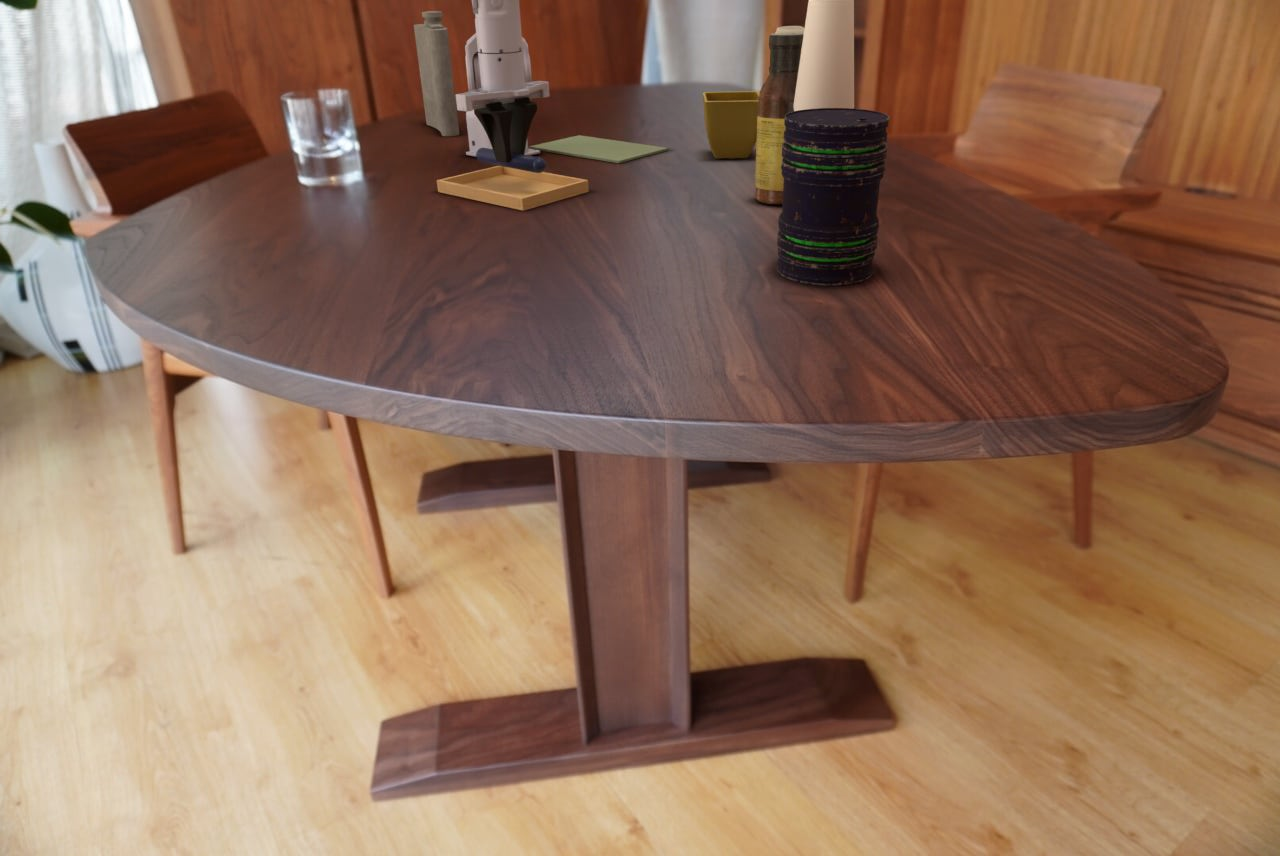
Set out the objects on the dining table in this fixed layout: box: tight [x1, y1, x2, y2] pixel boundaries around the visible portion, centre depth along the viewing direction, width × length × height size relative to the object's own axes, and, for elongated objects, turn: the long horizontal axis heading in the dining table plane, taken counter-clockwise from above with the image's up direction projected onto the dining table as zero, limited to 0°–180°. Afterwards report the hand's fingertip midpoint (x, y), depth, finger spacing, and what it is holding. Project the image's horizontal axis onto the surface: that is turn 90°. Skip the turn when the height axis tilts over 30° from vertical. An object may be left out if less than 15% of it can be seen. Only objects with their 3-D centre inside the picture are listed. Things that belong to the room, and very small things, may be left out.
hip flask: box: [413, 10, 460, 137], centre depth 164 cm, size 16×4×20 cm, turn 24°
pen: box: [475, 148, 547, 173], centre depth 122 cm, size 13×2×2 cm, turn 50°
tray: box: [436, 165, 590, 212], centre depth 124 cm, size 17×12×2 cm
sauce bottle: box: [754, 32, 803, 206], centre depth 112 cm, size 7×6×20 cm
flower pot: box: [702, 90, 760, 160], centre depth 140 cm, size 9×9×9 cm
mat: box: [528, 134, 669, 164], centre depth 149 cm, size 20×12×1 cm, turn 50°
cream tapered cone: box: [793, 0, 855, 111], centre depth 102 cm, size 7×7×24 cm
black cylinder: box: [776, 108, 890, 286], centre depth 88 cm, size 10×10×15 cm
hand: (510, 159), depth 122 cm, fingers closed on pen, 2 cm apart
